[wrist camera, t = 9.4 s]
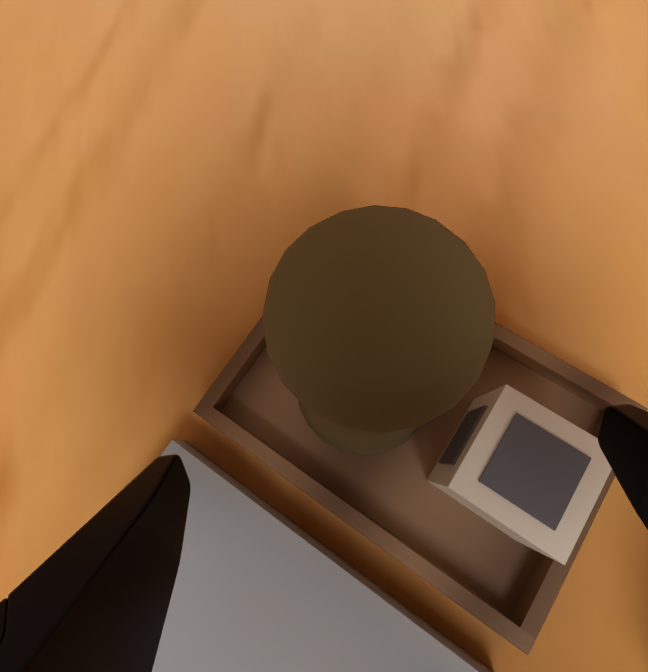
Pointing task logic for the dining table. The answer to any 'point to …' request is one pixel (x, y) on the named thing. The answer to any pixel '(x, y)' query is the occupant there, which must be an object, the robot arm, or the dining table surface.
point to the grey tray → (280, 596)
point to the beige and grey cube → (523, 471)
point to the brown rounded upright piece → (377, 325)
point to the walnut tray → (419, 477)
